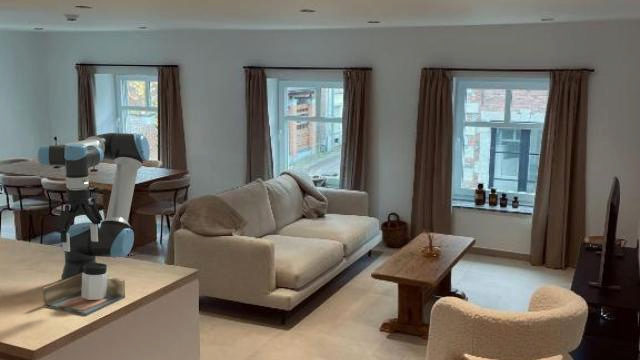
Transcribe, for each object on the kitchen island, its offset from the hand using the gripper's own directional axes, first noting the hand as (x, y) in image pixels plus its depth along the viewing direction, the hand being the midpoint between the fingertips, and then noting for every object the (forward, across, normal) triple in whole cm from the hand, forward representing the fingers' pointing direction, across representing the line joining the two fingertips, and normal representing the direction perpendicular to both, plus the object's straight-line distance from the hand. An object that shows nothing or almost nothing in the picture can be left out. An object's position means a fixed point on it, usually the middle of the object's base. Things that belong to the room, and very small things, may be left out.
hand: (80, 246), depth 228 cm
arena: (+22, +3, +2) cm, 23 cm away
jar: (+21, +5, 0) cm, 22 cm away
